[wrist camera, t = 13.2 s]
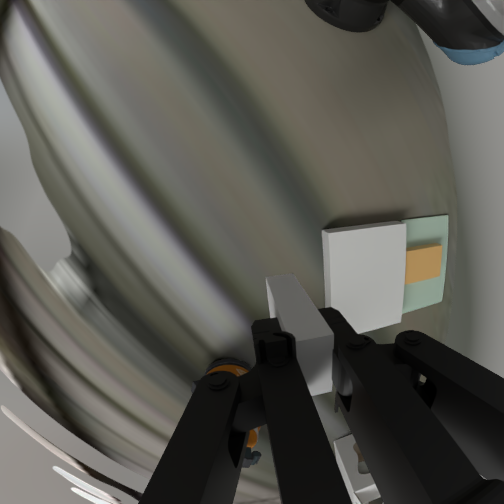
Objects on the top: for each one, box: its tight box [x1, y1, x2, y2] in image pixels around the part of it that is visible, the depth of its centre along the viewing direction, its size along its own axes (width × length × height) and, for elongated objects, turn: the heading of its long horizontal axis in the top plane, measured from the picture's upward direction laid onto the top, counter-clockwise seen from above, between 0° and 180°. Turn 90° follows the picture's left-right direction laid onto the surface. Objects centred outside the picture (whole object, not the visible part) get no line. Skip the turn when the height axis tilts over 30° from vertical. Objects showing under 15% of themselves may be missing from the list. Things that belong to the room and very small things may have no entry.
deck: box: [322, 221, 406, 334], centre depth 43 cm, size 18×14×3 cm
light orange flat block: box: [404, 243, 442, 285], centre depth 43 cm, size 9×6×2 cm, turn 97°
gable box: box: [334, 434, 381, 504], centre depth 43 cm, size 22×13×28 cm, turn 106°
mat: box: [401, 215, 448, 314], centre depth 45 cm, size 18×12×1 cm, turn 7°
